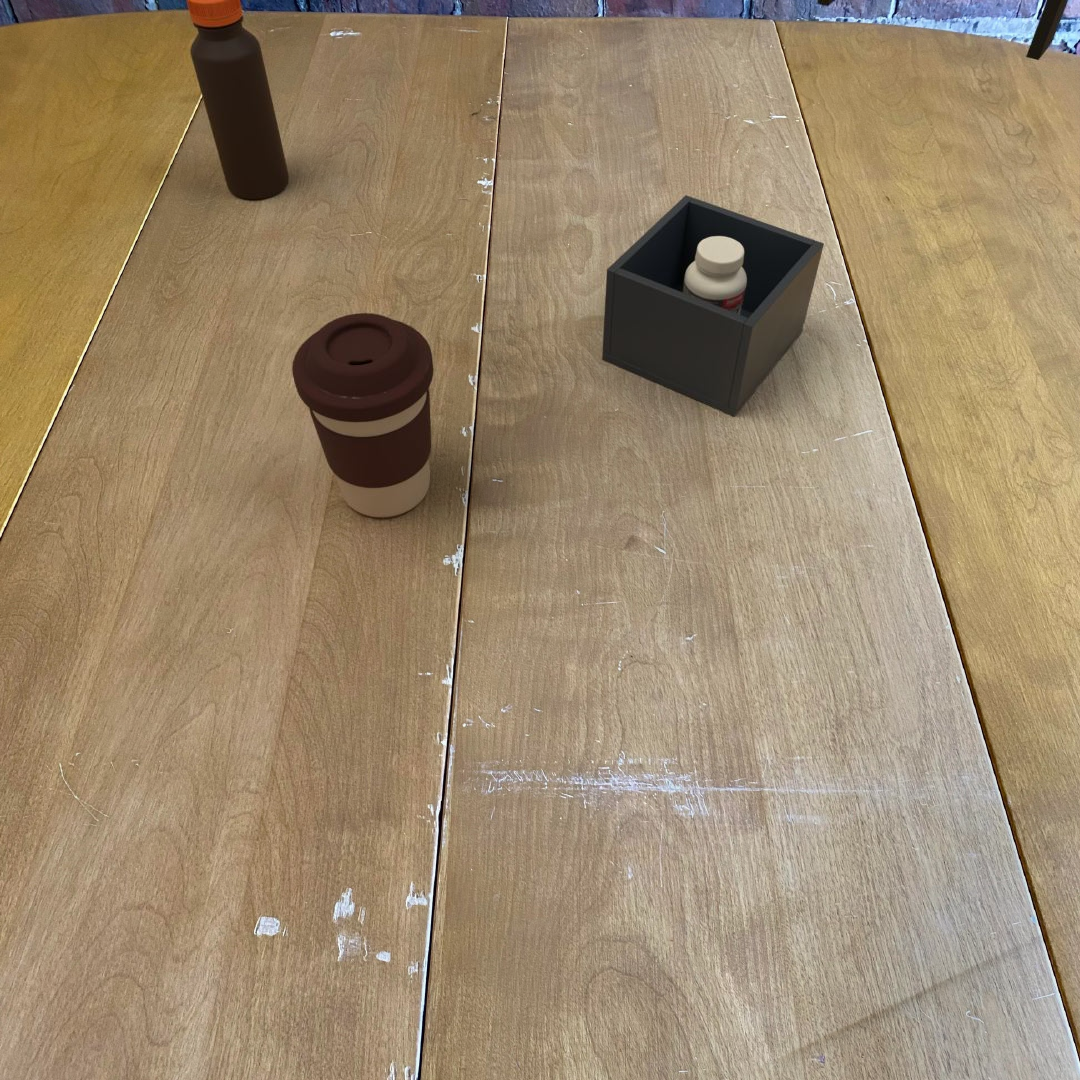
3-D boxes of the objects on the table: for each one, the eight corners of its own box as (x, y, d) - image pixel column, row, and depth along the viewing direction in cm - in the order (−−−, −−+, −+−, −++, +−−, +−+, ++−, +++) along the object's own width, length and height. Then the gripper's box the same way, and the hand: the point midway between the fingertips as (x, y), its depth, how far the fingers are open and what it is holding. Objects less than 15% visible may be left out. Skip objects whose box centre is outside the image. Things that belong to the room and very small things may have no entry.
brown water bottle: (286, 163, 112) (244, -26, 97) (293, 195, 108) (250, 2, 93) (225, 172, 111) (173, -18, 96) (230, 205, 107) (176, 11, 91)
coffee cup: (367, 429, 85) (338, 284, 73) (468, 465, 82) (455, 320, 71) (300, 508, 79) (258, 364, 68) (407, 549, 77) (381, 406, 65)
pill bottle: (725, 365, 89) (742, 273, 81) (668, 350, 90) (679, 258, 82) (742, 330, 92) (759, 238, 84) (687, 316, 93) (699, 224, 86)
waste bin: (801, 333, 93) (824, 243, 85) (734, 417, 86) (752, 326, 78) (674, 284, 98) (685, 194, 90) (601, 359, 91) (606, 269, 83)
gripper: (1377, -438, 44) (1151, 50, 60) (849, -473, 53) (777, -41, 69) (1354, -414, 40) (1119, 100, 56) (788, -457, 49) (727, -3, 65)
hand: (930, 23), depth 63 cm, fingers open, 13 cm apart
